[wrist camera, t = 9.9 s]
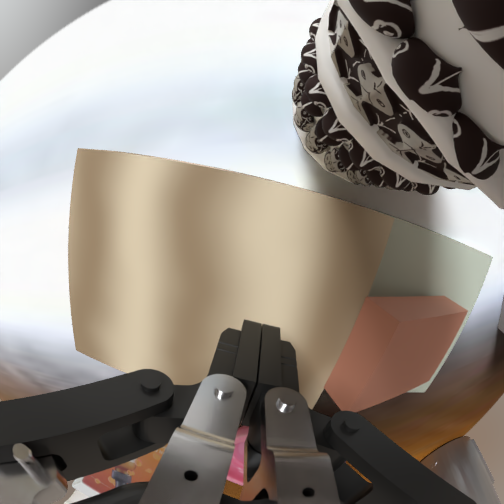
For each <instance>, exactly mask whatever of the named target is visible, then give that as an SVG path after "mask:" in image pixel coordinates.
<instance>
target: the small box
mask: <svg viewBox="0 0 504 504" xmlns="http://www.w3.org/2000/svg"><path fill="white" fill-rule="evenodd" d="M167 445H168V444H167ZM167 445H165V446H164V447H162V448H160V449H158V450H155V451H153V452H151V453H148V454H146V455H144V456H141V457H139V458H136V459H134V460H131V461H129V462H126V463H123V464H121V465H118V466H115V467H112V468H109V469H106V470H104V471H100V472H97V473H94V474H91V475H88V476H84V477H81V478H77V479H75V481H74V482H73V484H72V487H73V488H75V489H76V490H78V491H80V492H82V493H83V494H85V495H87V496H88V497H92V496H95V495H98V494H101V493H103V492H106V491H109V490H111V489H114V488H116V487H119V486H121V485H125V484H129V483H135V482H146V481H150V479H151V477H152V475H153V473H154V471H155V469H156V467H157V465H158V463H159V461H160V459H161V457H162V455H163V453H164V451H165V449H166V447H167Z"/></svg>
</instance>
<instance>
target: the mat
mask: <svg viewBox="0 0 504 504" xmlns="http://www.w3.org/2000/svg"><path fill="white" fill-rule="evenodd" d="M374 211H375V210H374ZM377 212H378V211H377ZM380 213H381V212H380ZM382 214H384V213H382ZM385 215H387V214H385ZM387 216H390V215H387ZM390 217H392V218H395V219H394V222H393V226H392V229H391V232H390V235H389V238H388V242H387V245H386V248H385V251H384V254H383V257H382V259H381V262H380V265H379V268H378V271H377V273H376V276H375V279H374V281H373V284H372V287H371V289H370V292H369V294H368V297H405V296H446V297H447V298H449V299H450V300H452V301H454V302H455V303H457V304H458V305H460V306H462V307H463V308H465V309H466V310H468V312H467V315H466V317H465V319H464V321H463V323H462V325H461V327H460V329H459V331H458V333H457V335H456V337H455V338H454V340H453V342H452V344H451V346H450V348H449V349H448V351H447V353H446V355H445V356H444V358H443V360H442V361H441V363H440V365H439V366H438V368H437V369H436V371H435V373H434V374H433V376H432V377H431V379H430V380H429V381H428V382H426V383H424V384H422V385H420V386H418V387H416V388H414V389H412V390H409V391H407V392H425V391H426V390H427V388H428V387H429V385H430V384H431V382H432V381H433V379H434V378H435V376H436V375H437V373H438V372H439V370H440V369H441V367H442V365H443V364H444V362H445V360H446V359H447V357H448V355H449V354H450V352H451V350H452V348H453V347H454V345H455V343H456V341H457V339H458V337H459V336H460V334H461V332H462V330H463V328H464V326H465V324H466V322H467V320H468V318H469V315H470V313H471V311H472V309H473V307H474V305H475V302H476V300H477V298H478V295H479V293H480V290H481V288H482V285H483V283H484V280H485V278H486V275H487V272H488V269H489V267H490V264H491V261H492V258H493V257H491V256H489V255H487V254H485V253H483V252H481V251H478V250H476V249H474V248H472V247H469V246H467V245H465V244H462V243H460V242H458V241H455V240H453V239H451V238H448V237H446V236H443V235H441V234H438V233H436V232H433V231H431V230H428V229H426V228H423V227H420V226H418V225H415V224H412V223H410V222H407V221H404V220H401V219H399V218H396V217H393V216H390Z"/></svg>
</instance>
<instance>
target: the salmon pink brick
mask: <svg viewBox="0 0 504 504" xmlns="http://www.w3.org/2000/svg"><path fill="white" fill-rule="evenodd" d="M467 312H468V310H466V309H465V308H463V307H462V306H460V305H458V304H457V303H455V302H454V301H452V300H450V299H449V298H447V297H446V296H405V297H366V298H365V301H364V303H363V306H362V308H361V310H360V313H359V315H358V318H357V320H356V322H355V324H354V327H353V329H352V331H351V333H350V336H349V338H348V340H347V342H346V344H345V346H344V348H343V350H342V352H341V355H340V357H339V359H338V361H337V363H336V365H335V367H334V368H333V370H332V372H331V374H330V376H329V378H328V380H327V382H326V384H325V386H324V389H325V390H326V391H327V393H328V394H329V395H330V397H331V398H332V399H333V400H334V402H335V403H336V404H337V406H338V407H339V408H340V410H341V411H352V412H358V411H361V410H364V409H366V408H369V407H372V406H374V405H377V404H379V403H382V402H384V401H387V400H389V399H391V398H394V397H396V396H398V395H401V394H403V393H405V392H407V391H409V390H412V389H414V388H416V387H418V386H420V385H422V384H424V383H426V382H428V381H429V380H430V379H431V377H432V376H433V374H434V373H435V371H436V369H437V368H438V366H439V365H440V363H441V361H442V360H443V358H444V356H445V355H446V353H447V351H448V349H449V348H450V346H451V344H452V342H453V340H454V338H455V337H456V335H457V333H458V331H459V329H460V327H461V325H462V323H463V321H464V319H465V317H466V315H467Z"/></svg>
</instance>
